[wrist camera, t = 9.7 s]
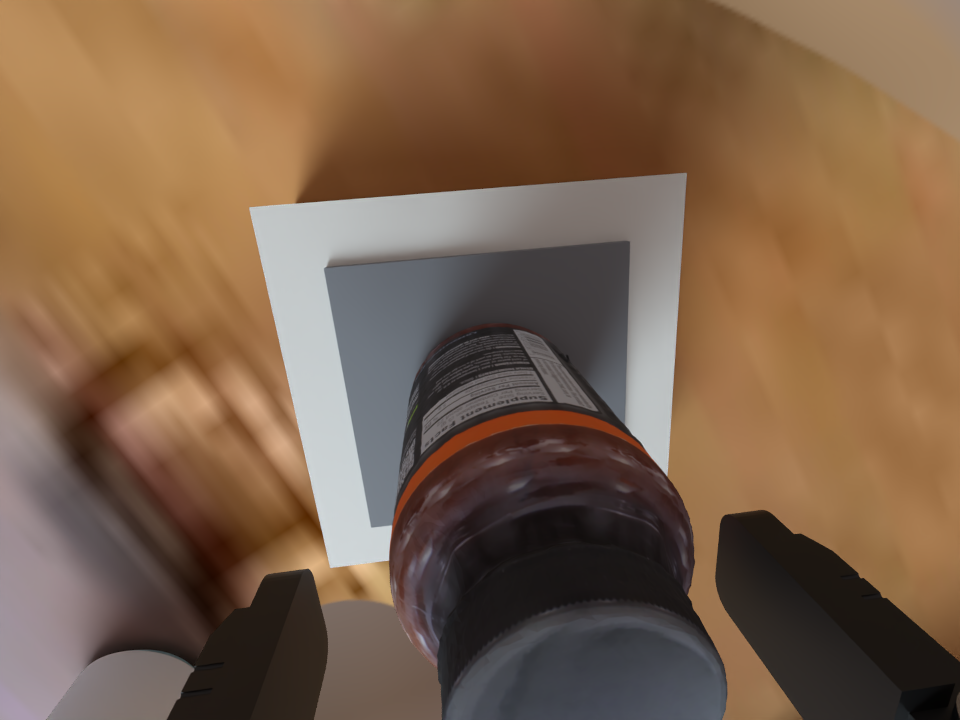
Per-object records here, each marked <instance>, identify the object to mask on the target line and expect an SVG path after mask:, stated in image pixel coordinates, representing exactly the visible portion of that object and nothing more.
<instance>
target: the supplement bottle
mask: <svg viewBox="0 0 960 720" xmlns="http://www.w3.org/2000/svg"><path fill="white" fill-rule="evenodd" d="M694 565H695V560H694V544H693V532H692V526H691V524H690V518H689V516H688V513H687V510H686V509H685V506H684V503H683V500H682V499H681V497H680V495H679V493H678V491H677V490H676V488H675V487H674V485H673V484H672V482H671V481H670V480H669V479H668V477H667V476H666V474H665V473H664V472H663V470H662V469H661V468H660V467H659V466H658V465H657V464H656V462H655V461H654V460H653V459H652V458H651V457H650V455H649V454H648V453H647V451H646V450H645V448H644V447H643V445H642V444H641V442H640V441H639V440H638V439H637V438H636V437H635V436H633V435H632V434H631V432H630V430H629V429H628V428H627V427H626V426H625V425H624V424H623V423H622V422H621V421H620V419H619V418H618V417H617V416H616V415H615V414H614V412H613V411H612V410H611V408H610V407H609V406H608V405H607V404H606V402H605V401H604V400H603V399H602V398H601V397H600V396H599V395H598V394H597V392H596V391H595V390H594V389H593V388H592V387H591V385H590V384H589V383H588V382H587V380H586V379H585V378H584V377H583V376H582V375H581V374H580V372H579V371H578V369H576V368H575V366H574V365H573V364H572V363H571V361H570V359H569V356H568V355H565V354H564V353H562V352H561V351H560V349H559V348H558V347H557V346H555V345H554V344H553V343H552V342H550V341H549V340H548V339H546V338H545V337H543V336H542V335H540V334H538V333H536V332H534V331H532V330H529V329H527V328H524V327H521V326H517V325H512V324H506V323H489V324H482V325H477V326H473V327H470V328H467V329H464V330H461V331H459V332H457V333H455V334H454V335H452V336H450V337H448V338H447V339H445V340H444V341H443V342H441V343H440V344H439V345H438V346H437V347H436V348H435V349H433V350H432V351H431V352H430V354H429V355H428V356H427V358H426V359H425V361H424V362H423V364H422V365H421V367H420V369H419V371H418V372H417V374H416V377H415V380H414V382H413V386H412V389H411V393H410V397H409V404H408V410H407V418H406V425H405V432H404V440H403V447H402V454H401V461H400V468H399V477H398V487H397V494H396V502H395V509H394V518H393V523H392V533H391V540H390V550H389V567H390V585H391V593H392V598H393V602H394V606H395V609H396V613H397V615H398V618H399V620H400V623H401V625H402V627H403V629H404V631H405V632H406V634H407V635H408V637H409V639H410V640H411V642H412V643H413V645H414V646H415V647H416V648H417V649H418V650H419V651H420V653H421V654H422V655H423V656H424V657H425V658H426V659H427V660H428V661H429V662H430V663H431V664H432V665H433V666H435V667H436V668H437V669H438V680H439V683H440V684H441V698H442V720H722V718H723V715H724V712H725V710H726V700H727V681H726V673H725V669H724V664H723V662H722V660H721V658H720V655H719V653H718V651H717V649H716V647H715V645H714V643H713V641H712V639H711V638H710V636H709V635H708V633H707V631H706V630H705V628H704V626H703V624H702V622H701V620H700V618H699V616H698V615H697V614H696V613H695V611H694V610H693V608H692V602H691V600H690V599H689V597H688V596H687V595H688V592H689V588H690V586H691V581H692V575H693V568H694Z"/></svg>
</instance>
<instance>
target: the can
mask: <svg viewBox="0 0 960 720" xmlns="http://www.w3.org/2000/svg"><path fill="white" fill-rule="evenodd" d="M191 672H194V667H193V666H192V665H191V664H189V663H188V662H187V661H185V660H184V659H182V658H180V657H178V656H176V655H173V654H170V653H167V652H163V651H158V650H129V651H122V652H117V653H113V654H109V655H106V656H104V657H101V658H99V659H97V660H95V661H94V662H92V663H91V664H89V665H88V666H87V667H86V668H85V669H84V670H83V671H82V672H81V673H80V675H79V676H78V677H77V679H76V680H75V681H74V683H73V684H72V686H71V687H70V688H69V690H68V691H67V692H66V694H65V695H64V696H63V698H62V699H61V700H60V702H59V703H58V704H57V706H56V707H55V708H54V710H53V711H52V712H51V714H50V715H49V716H48V718H47V719H46V720H167V718H168V716H169V714H170V712H171V710H172V708H173V706H174V704H175V702H176V700H177V699H180V697H181V691H182V689H183V687H184V685H185V683H186V681H187V679H188V677H189V675H190V674H191Z"/></svg>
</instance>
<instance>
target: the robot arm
mask: <svg viewBox="0 0 960 720" xmlns="http://www.w3.org/2000/svg"><path fill="white" fill-rule="evenodd" d="M715 579H716V587H717V591H718V594H719V597H720V600H721V602H722V604H723V606H724V608H725V610H726V611H727V613H728V614H729V616H730V617H731V619H732V620H733V621H734V623H735V624H736V626H737V627H738V628H739V630H740V631H741V633H742V634H743V635H744V637H745V638H746V640H747V641H748V642H749V644H750V645H751V647H752V648H753V649H754V651H755V652H756V654H757V655H758V656H759V658H760V659H761V661H762V662H763V663H764V665H765V666H766V668H767V669H768V670H769V672H770V673H771V675H772V676H773V677H774V679H775V680H776V682H777V683H778V684H779V686H780V687H781V689H782V690H783V691H784V693H785V694H786V696H787V697H788V698H789V700H790V701H791V703H792V704H793V705H794V707H795V708H796V710H797V711H798V712H799V714H800V715H801V717H802V718H803V719H804V720H960V662H959V661H958V660H957V659H956V658H955V657H953V656H952V655H951V654H950V653H949V652H948V651H946V650H945V649H944V648H943V647H942V646H941V645H940V644H938V643H937V642H936V641H935V640H934V639H933V638H932V637H930V636H929V635H928V634H927V633H926V632H925V631H924V630H922V629H921V628H920V627H919V626H918V625H917V624H916V623H914V622H913V621H912V620H911V619H910V618H909V617H908V616H906V615H905V614H904V613H903V612H902V611H901V610H900V609H898V608H897V607H896V606H895V605H894V604H893V603H892V602H890V601H889V600H888V599H887V598H882V596H881V594H880V592H879V591H878V590H877V589H876V588H874V587H873V586H872V585H871V584H870V583H869V582H868V581H866V580H865V579H864V578H860V577H859V575H858V573H857V572H856V571H855V570H854V569H853V568H852V567H850V566H849V565H848V564H847V563H846V562H845V561H844V560H842V559H841V558H840V557H839V556H838V555H837V554H836V553H834V552H833V551H832V550H830V549H828V548H826V547H824V546H823V545H821V544H819V543H817V542H815V541H814V540H812V539H810V538H808V537H806V536H804V535H803V534H793V533H792V532H791V531H790V530H789V529H788V528H787V527H786V526H785V525H783V524H782V523H781V522H780V521H779V520H778V519H777V518H776V517H775V516H774V515H772V514H771V513H770V512H768V511H765V510H758V511H750V512H743V513H735V514H728V515H725V516H723V518H722V520H721V523H720V532H719V543H718V553H717V564H716V575H715ZM327 655H328V638H327V631H326V625H325V621H324V617H323V613H322V609H321V605H320V601H319V597H318V593H317V589H316V585H315V581H314V577H313V574H312V572H311V571H310V570H309V569H303V570H296V571H288V572H281V573H273V574H268V575H266V576H265V577H264V578H263V580H262V582H261V584H260V586H259V588H258V590H257V593H256V595H255V597H254V599H253V601H252V604H251V606H250V607H247V608H240V609H235V610H234V611H233V612H232V613H231V614H230V615H229V616H228V617H227V618H226V619H225V620H224V621H223V623H222V624H221V625H220V626H219V627H218V628H217V629H216V630H215V631H214V632H213V633H212V634H211V635H210V637H209V639H208V641H207V643H206V645H205V647H204V648H203V650H202V652H201V654H200V656H199V658H198V660H197V662H196V664H195V666H194V672H191V674H190V675H189V677H188V679H187V681H186V683H185V685H184V687H183V689H182V691H181V697H180V699H177V700H176V702H175V704H174V706H173V708H172V710H171V712H170V714H169V716H168V718H167V720H314V716H315V712H316V708H317V703H318V698H319V695H320V691H321V686H322V682H323V678H324V673H325V669H326V663H327Z"/></svg>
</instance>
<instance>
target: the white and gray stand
mask: <svg viewBox="0 0 960 720" xmlns="http://www.w3.org/2000/svg"><path fill="white" fill-rule="evenodd" d="M686 178H687V173H677V174H665V175H652V176H639V177H627V178H614V179H601V180H589V181H576V182H563V183H551V184H538V185H526V186H513V187H500V188H488V189H475V190H462V191H450V192H437V193H424V194H412V195H399V196H387V197H374V198H361V199H349V200H336V201H323V202H311V203H298V204H285V205H273V206H260V207H249V209H250V213H251V218H252V222H253V227H254V231H255V236H256V240H257V244H258V249H259V253H260V258H261V262H262V267H263V271H264V275H265V280H266V284H267V289H268V293H269V298H270V302H271V307H272V311H273V315H274V320H275V324H276V329H277V333H278V338H279V342H280V346H281V351H282V355H283V360H284V364H285V369H286V373H287V378H288V382H289V386H290V391H291V395H292V400H293V404H294V409H295V413H296V417H297V422H298V426H299V431H300V435H301V440H302V444H303V449H304V453H305V457H306V462H307V466H308V471H309V475H310V480H311V484H312V488H313V493H314V497H315V502H316V506H317V511H318V515H319V520H320V524H321V528H322V533H323V537H324V542H325V546H326V551H327V555H328V559H329V564H330V568H333V567H341V566H349V565H357V564H365V563H373V562H381V561H389V550H390V540H391V533H392V523H393V518H394V509H395V502H396V494H397V487H398V477H399V468H400V461H401V454H402V447H403V440H404V432H405V425H406V418H407V410H408V404H409V397H410V393H411V389H412V386H413V382H414V380H415V377H416V374H417V372H418V371H419V369H420V367H421V365H422V364H423V362H424V361H425V359H426V358H427V356H428V355H429V354H430V352H431V351H432V350H433V349H435V348H436V347H437V346H438V345H439V344H440V343H441V342H443V341H444V340H445V339H447V338H448V337H450V336H452V335H454V334H455V333H457V332H459V331H461V330H464V329H467V328H470V327H473V326H477V325H482V324H489V323H506V324H512V325H517V326H521V327H524V328H527V329H529V330H532V331H534V332H536V333H538V334H540V335H542V336H543V337H545V338H546V339H548V340H549V341H550V342H552V343H553V344H554V345H555V346H557V347H558V348H559V349H560V351H561V352H562V353H564V354H565V355H568V356H569V359H570V361H571V363H572V364H573V365H574V366H575V368H576V369H578V371H579V372H580V374H581V375H582V376H583V377H584V378H585V379H586V380H587V382H588V383H589V384H590V385H591V387H592V388H593V389H594V390H595V391H596V392H597V394H598V395H599V396H600V397H601V398H602V399H603V400H604V401H605V402H606V404H607V405H608V406H609V407H610V408H611V410H612V411H613V412H614V414H615V415H616V416H617V417H618V418H619V419H620V421H621V422H622V423H623V424H624V425H625V426H626V427H627V428H628V429H629V430H630V432H631V434H632V435H633V436H635V437H636V438H637V439H638V440H639V441H640V442H641V444H642V445H643V447H644V448H645V450H646V451H647V453H648V454H649V455H650V457H651V458H652V459H653V460H654V461H655V462H656V464H657V465H658V466H659V467H660V468H661V469H662V470H663V472H664V473H665V474H666V476H667V473H668V457H669V442H670V426H671V411H672V395H673V380H674V364H675V349H676V333H677V318H678V302H679V287H680V271H681V256H682V240H683V225H684V209H685V194H686Z"/></svg>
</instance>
